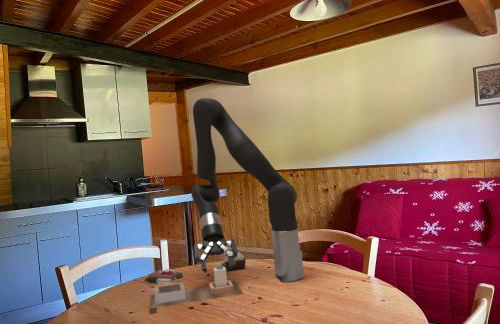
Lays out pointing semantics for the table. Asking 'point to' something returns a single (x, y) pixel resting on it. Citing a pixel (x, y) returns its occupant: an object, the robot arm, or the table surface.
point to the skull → (235, 263)
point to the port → (169, 293)
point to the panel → (195, 296)
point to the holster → (221, 288)
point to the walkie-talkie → (163, 276)
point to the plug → (220, 276)
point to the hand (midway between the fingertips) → (218, 269)
